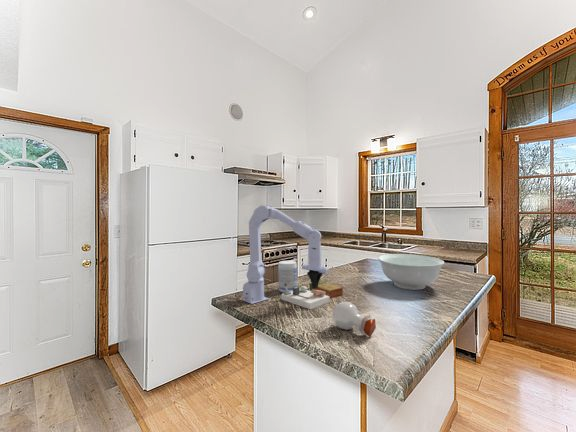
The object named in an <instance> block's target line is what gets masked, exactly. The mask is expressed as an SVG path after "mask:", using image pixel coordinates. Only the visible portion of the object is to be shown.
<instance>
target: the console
mask: <svg viewBox="0 0 576 432" xmlns="http://www.w3.org/2000/svg"><path fill="white" fill-rule="evenodd" d="M281 300H283V301H285V302H288V303H291V304H293V305H296V306H300V307H302V308H305V309H308V310H311V309H314V308H318V307H320V306H323V305H326V304H328V303H331V302H330V300H331V298H330V296H326V295H324V293H321V295H319V294H314V293H311V291H310V289H309V290H308V289H306V292H301V291H300V294H298V295H293V291H290V292H282V293H281Z"/></svg>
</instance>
